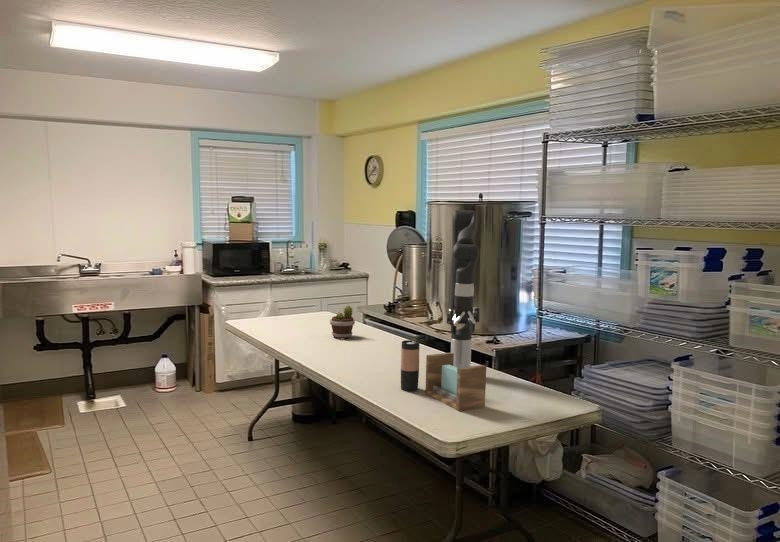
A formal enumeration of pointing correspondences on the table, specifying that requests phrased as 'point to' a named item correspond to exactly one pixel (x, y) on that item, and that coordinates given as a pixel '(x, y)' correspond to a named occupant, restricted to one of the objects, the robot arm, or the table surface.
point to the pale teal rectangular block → (449, 379)
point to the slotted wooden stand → (468, 383)
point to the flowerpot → (343, 324)
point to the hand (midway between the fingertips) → (462, 333)
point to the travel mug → (409, 365)
